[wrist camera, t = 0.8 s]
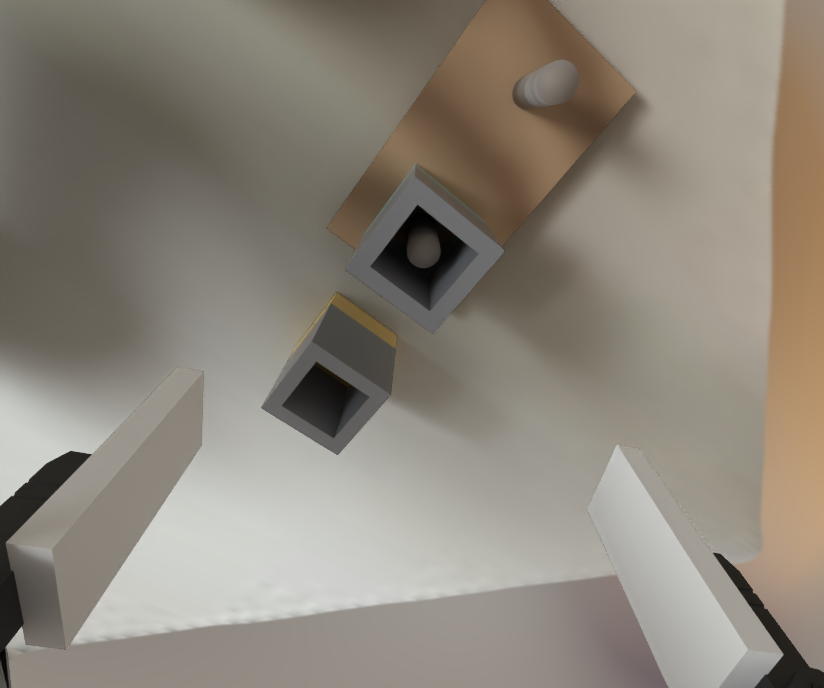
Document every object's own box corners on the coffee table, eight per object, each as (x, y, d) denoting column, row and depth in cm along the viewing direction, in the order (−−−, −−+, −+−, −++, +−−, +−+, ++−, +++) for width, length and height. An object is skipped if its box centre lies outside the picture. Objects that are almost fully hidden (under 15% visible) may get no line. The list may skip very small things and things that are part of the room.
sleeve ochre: (296, 346, 37) (261, 407, 29) (336, 291, 35) (311, 341, 27) (354, 385, 38) (337, 455, 30) (397, 335, 37) (390, 394, 28)
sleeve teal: (429, 283, 33) (432, 334, 25) (363, 233, 32) (344, 269, 24) (482, 218, 31) (504, 250, 23) (415, 163, 30) (414, 175, 22)
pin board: (441, 307, 36) (448, 357, 28) (330, 223, 33) (303, 252, 25) (626, 92, 30) (699, 79, 22) (506, -29, 27) (541, -92, 20)
